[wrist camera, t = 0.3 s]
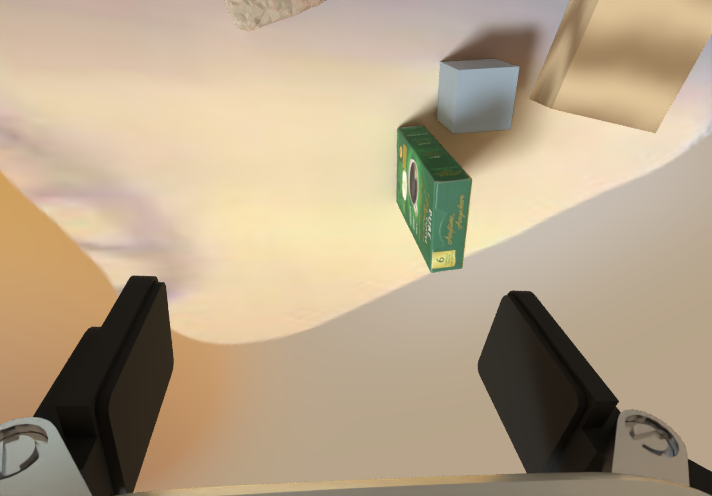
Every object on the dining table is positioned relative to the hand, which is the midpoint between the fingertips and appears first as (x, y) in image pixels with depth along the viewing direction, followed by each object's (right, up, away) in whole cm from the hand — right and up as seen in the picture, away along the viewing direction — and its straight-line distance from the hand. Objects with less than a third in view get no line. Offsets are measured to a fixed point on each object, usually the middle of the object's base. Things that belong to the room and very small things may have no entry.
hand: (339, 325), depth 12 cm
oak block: (+23, +20, +27) cm, 41 cm away
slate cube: (+10, +17, +27) cm, 34 cm away
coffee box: (+6, +10, +31) cm, 33 cm away
